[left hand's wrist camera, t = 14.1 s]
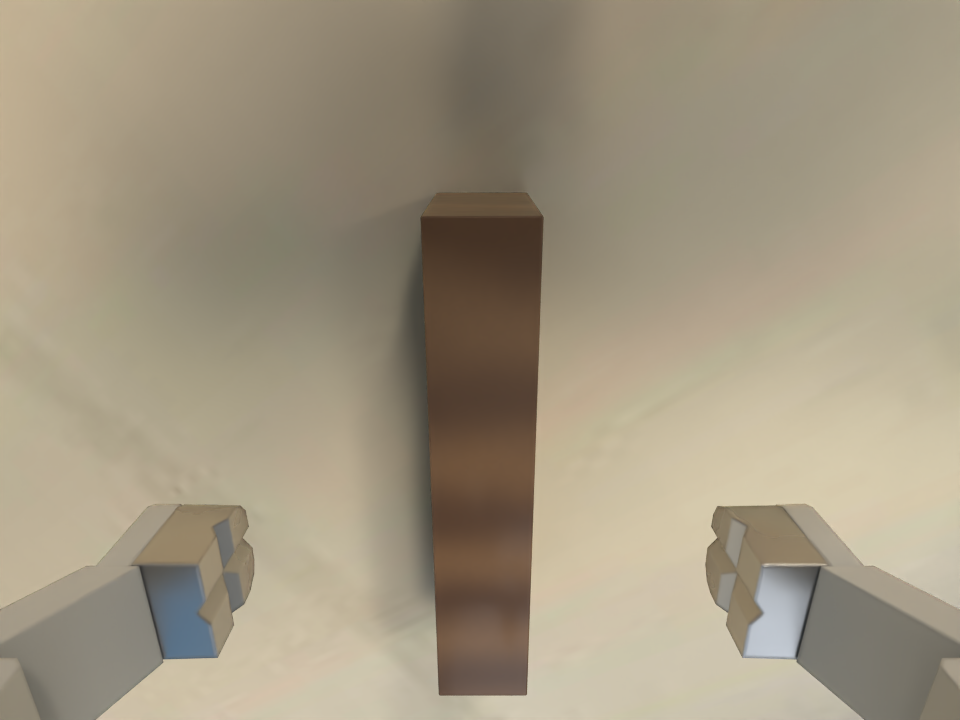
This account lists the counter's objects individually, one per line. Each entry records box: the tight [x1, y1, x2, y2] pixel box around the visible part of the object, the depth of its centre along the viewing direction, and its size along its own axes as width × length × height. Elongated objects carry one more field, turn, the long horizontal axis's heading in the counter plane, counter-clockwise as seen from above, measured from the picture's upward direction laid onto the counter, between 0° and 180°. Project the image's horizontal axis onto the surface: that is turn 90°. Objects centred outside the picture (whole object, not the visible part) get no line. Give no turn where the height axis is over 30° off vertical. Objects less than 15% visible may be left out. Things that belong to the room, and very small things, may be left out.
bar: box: [421, 193, 543, 695], centre depth 31 cm, size 25×5×8 cm, turn 0°
